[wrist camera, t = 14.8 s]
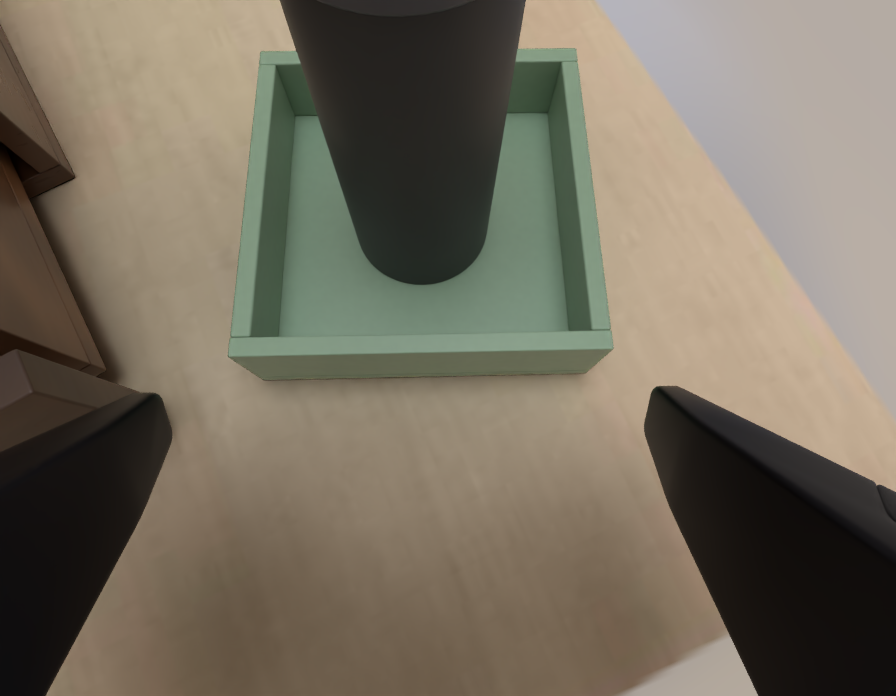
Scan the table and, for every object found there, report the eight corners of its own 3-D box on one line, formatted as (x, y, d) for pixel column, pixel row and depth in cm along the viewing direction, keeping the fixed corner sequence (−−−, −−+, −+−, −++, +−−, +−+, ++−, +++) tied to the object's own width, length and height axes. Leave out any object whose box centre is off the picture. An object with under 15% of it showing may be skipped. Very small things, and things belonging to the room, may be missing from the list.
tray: (586, 373, 17) (614, 349, 15) (263, 380, 17) (227, 357, 14) (557, 109, 21) (576, 47, 18) (285, 113, 20) (259, 50, 18)
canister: (475, 300, 18) (530, -28, 7) (338, 273, 18) (172, -88, 7) (500, 180, 19) (579, -254, 8) (372, 157, 19) (280, -296, 8)
